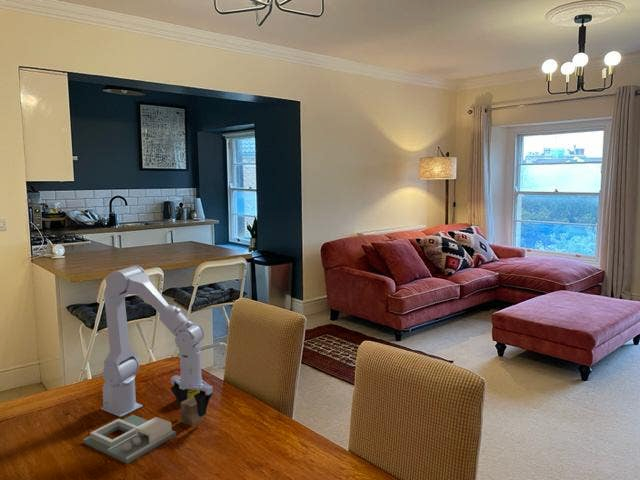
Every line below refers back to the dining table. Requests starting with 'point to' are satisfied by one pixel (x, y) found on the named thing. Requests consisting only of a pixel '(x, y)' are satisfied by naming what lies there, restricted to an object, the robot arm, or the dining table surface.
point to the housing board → (124, 439)
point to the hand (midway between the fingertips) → (192, 411)
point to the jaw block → (190, 412)
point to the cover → (154, 429)
